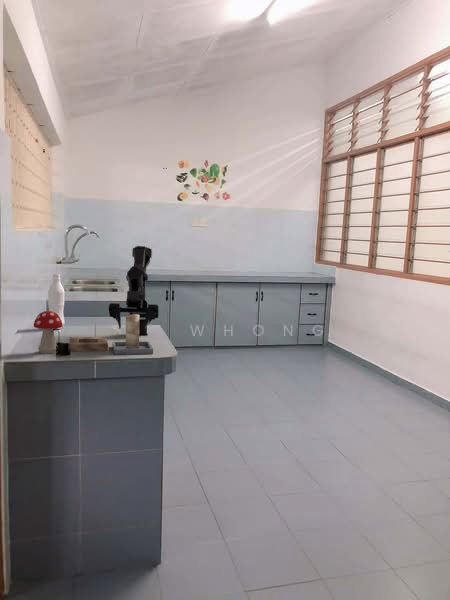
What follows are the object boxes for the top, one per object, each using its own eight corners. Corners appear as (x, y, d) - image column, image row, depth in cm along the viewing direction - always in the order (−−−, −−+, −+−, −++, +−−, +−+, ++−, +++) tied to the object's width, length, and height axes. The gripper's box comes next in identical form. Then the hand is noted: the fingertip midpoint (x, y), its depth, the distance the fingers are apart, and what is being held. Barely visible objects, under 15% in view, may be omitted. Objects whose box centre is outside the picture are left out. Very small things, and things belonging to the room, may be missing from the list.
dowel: (133, 347, 192) (134, 313, 191) (141, 349, 189) (142, 315, 187) (122, 348, 189) (123, 314, 187) (130, 351, 185) (131, 316, 184)
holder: (106, 343, 200) (106, 337, 199) (107, 350, 186) (107, 344, 186) (69, 343, 196) (69, 337, 196) (68, 351, 183) (68, 344, 182)
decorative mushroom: (64, 349, 185) (64, 309, 183) (60, 354, 176) (60, 312, 175) (36, 349, 183) (36, 309, 182) (30, 354, 175) (30, 312, 173)
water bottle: (67, 328, 228) (68, 274, 226) (56, 330, 222) (56, 274, 219) (55, 327, 231) (56, 273, 229) (44, 329, 225) (44, 273, 222)
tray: (148, 346, 197) (148, 341, 197) (153, 353, 184) (153, 348, 184) (112, 346, 194) (112, 341, 193) (114, 354, 180) (114, 349, 180)
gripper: (109, 281, 189) (104, 314, 179) (159, 283, 191) (157, 316, 181) (111, 300, 198) (107, 332, 188) (159, 301, 199) (157, 333, 190)
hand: (132, 328), depth 186 cm, fingers open, 9 cm apart
